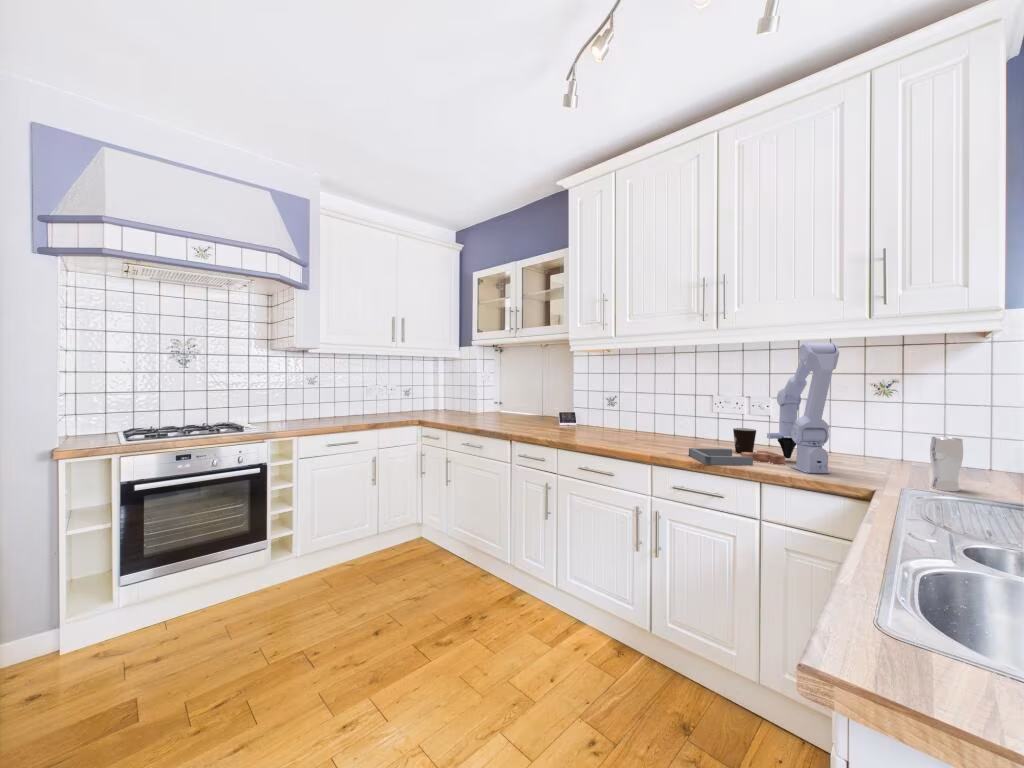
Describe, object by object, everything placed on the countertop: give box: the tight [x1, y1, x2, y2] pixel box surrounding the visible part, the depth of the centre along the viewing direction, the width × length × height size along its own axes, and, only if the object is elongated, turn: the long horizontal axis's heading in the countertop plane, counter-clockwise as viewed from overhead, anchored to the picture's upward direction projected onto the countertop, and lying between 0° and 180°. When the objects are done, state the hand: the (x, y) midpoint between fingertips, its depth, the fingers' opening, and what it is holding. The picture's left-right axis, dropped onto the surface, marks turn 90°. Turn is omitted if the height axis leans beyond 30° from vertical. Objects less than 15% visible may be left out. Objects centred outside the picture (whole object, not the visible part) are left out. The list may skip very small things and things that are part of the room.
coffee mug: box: [732, 427, 757, 454], centre depth 188 cm, size 12×9×10 cm
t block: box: [740, 450, 786, 465], centre depth 170 cm, size 12×12×3 cm
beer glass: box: [929, 436, 964, 493], centre depth 131 cm, size 7×7×15 cm
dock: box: [688, 447, 754, 466], centre depth 170 cm, size 18×16×3 cm
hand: (787, 457), depth 170 cm, fingers closed
